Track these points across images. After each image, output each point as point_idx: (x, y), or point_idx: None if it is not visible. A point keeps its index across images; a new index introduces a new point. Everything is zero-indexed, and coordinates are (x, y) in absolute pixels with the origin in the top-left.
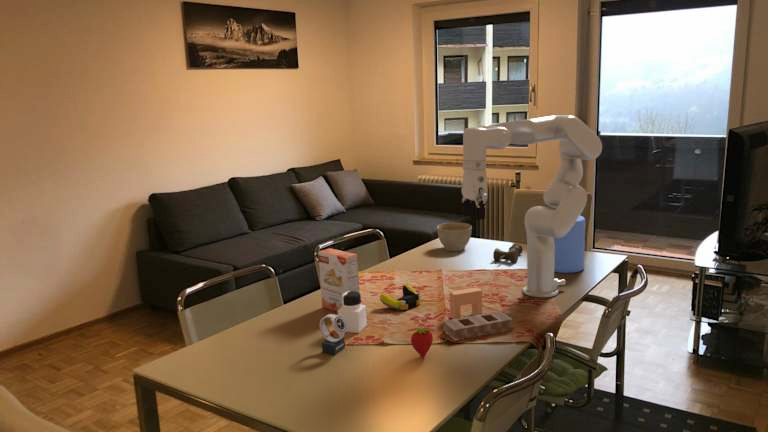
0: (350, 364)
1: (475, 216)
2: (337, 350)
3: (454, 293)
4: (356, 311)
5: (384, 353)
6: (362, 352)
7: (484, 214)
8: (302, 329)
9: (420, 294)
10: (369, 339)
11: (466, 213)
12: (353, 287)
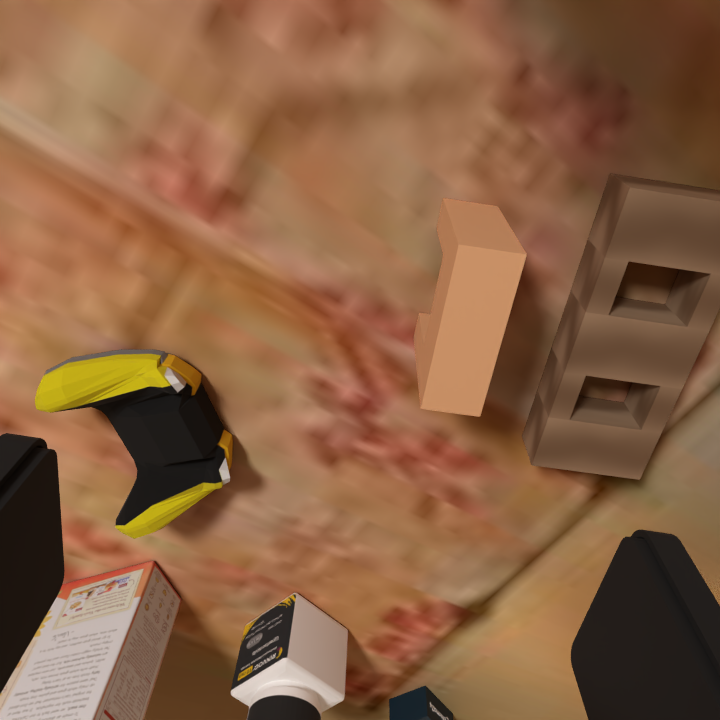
0: (530, 707)
1: (596, 710)
2: (445, 714)
3: (461, 404)
4: (337, 702)
5: (534, 634)
6: (484, 667)
7: (713, 614)
8: (224, 713)
9: (176, 383)
10: (412, 625)
11: (53, 545)
12: (135, 678)
